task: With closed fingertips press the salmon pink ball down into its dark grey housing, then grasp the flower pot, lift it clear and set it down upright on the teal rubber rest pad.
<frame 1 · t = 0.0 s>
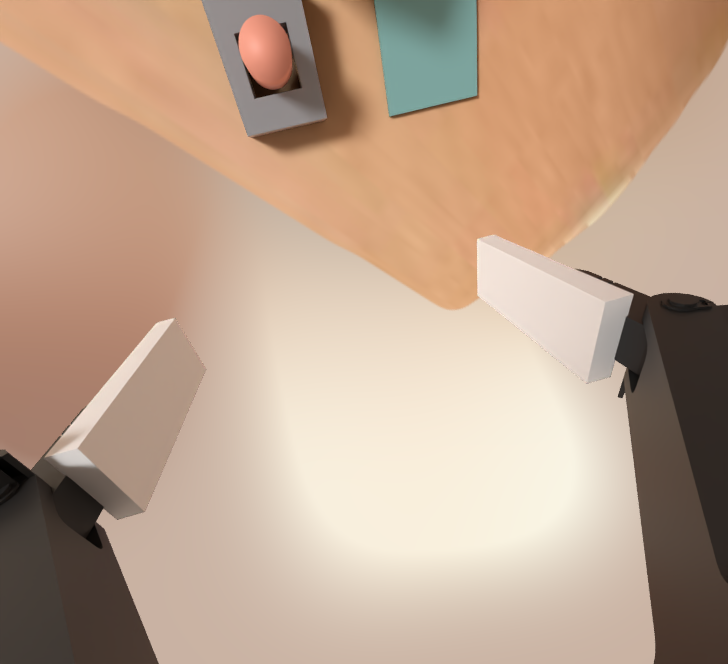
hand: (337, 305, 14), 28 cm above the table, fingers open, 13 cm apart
housing: (272, 69, 31), on the table
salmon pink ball: (267, 56, 26), point 5 cm above the table, slide at 0.0 cm
rest pad: (428, 47, 32), on the table
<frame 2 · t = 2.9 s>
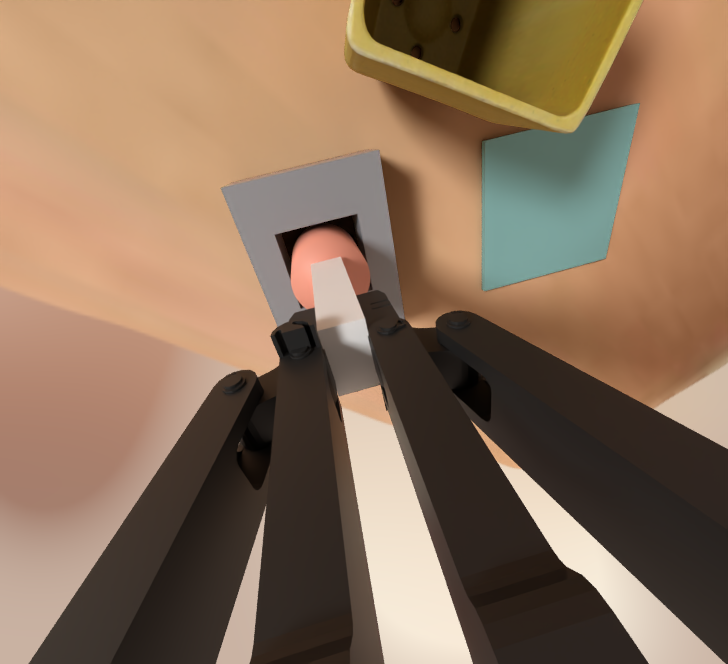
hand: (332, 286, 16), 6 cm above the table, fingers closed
flower pot: (423, 19, 16), on the table
housing: (323, 249, 21), on the table
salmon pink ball: (328, 267, 17), point 4 cm above the table, slide at 1.4 cm, touching gripper
rest pad: (549, 206, 22), on the table
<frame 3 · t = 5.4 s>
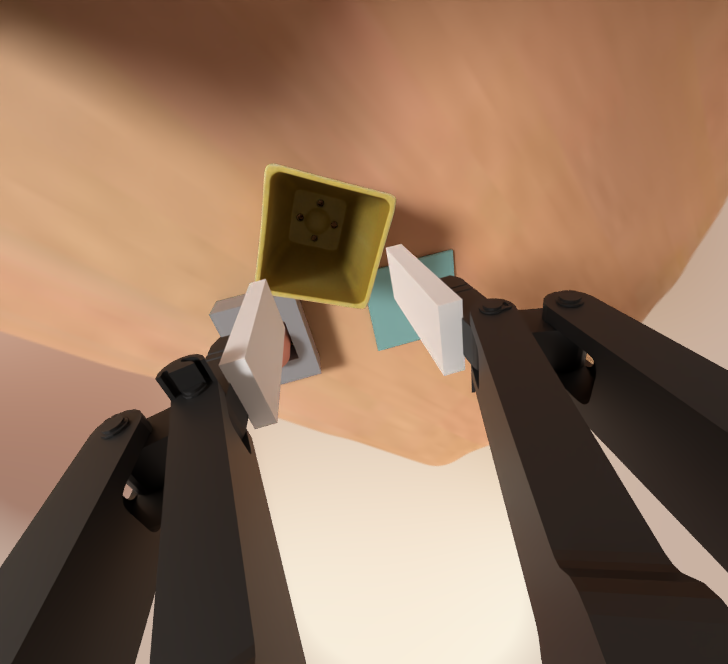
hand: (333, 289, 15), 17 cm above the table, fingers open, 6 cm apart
flower pot: (317, 221, 30), on the table
housing: (272, 332, 34), on the table
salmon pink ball: (270, 343, 32), point 2 cm above the table, slide at 2.5 cm
rest pad: (412, 302, 36), on the table
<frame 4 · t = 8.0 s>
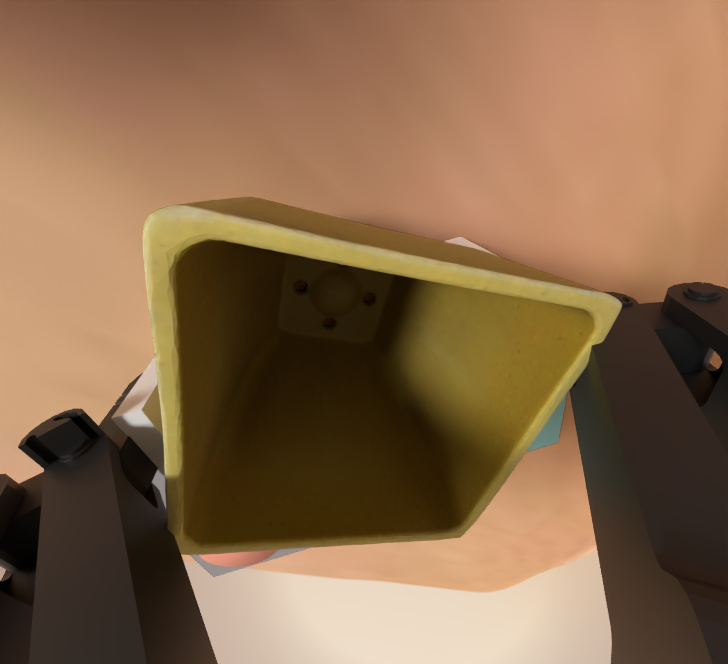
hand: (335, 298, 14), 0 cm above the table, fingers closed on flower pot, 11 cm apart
flower pot: (335, 291, 15), on the table, touching gripper
housing: (251, 468, 20), on the table
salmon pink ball: (245, 507, 17), point 2 cm above the table, slide at 2.5 cm
rest pad: (492, 410, 21), on the table
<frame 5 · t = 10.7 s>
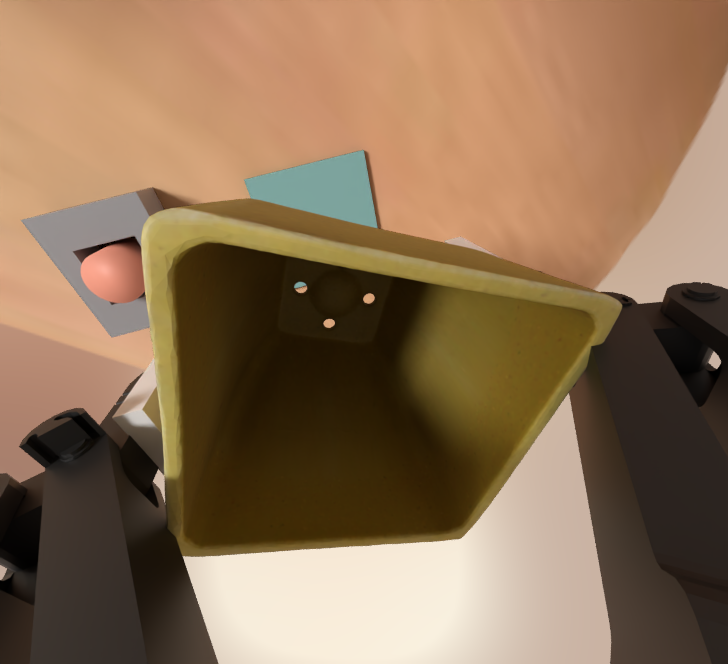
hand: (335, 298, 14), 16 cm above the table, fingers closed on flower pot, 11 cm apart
flower pot: (335, 292, 15), point 16 cm above the table, touching gripper
housing: (138, 260, 27), on the table
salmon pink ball: (125, 269, 25), point 2 cm above the table, slide at 2.5 cm
rest pad: (321, 225, 28), on the table
when the fingers open (3 cm above the table, at t = 13.9 s): flower pot drops 1 cm, resting on rest pad.
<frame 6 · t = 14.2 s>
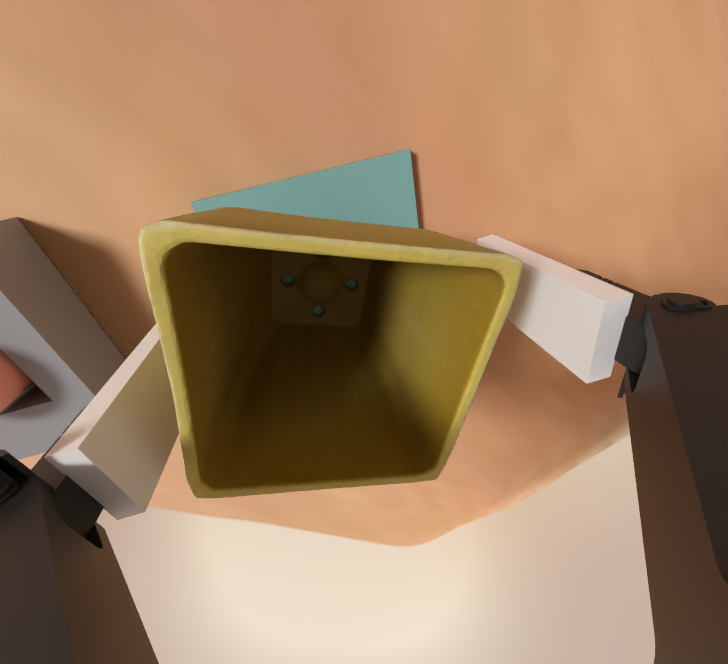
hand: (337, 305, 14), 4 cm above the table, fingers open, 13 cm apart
flower pot: (320, 281, 17), resting on rest pad
housing: (13, 339, 16), on the table
rest pad: (330, 276, 17), on the table
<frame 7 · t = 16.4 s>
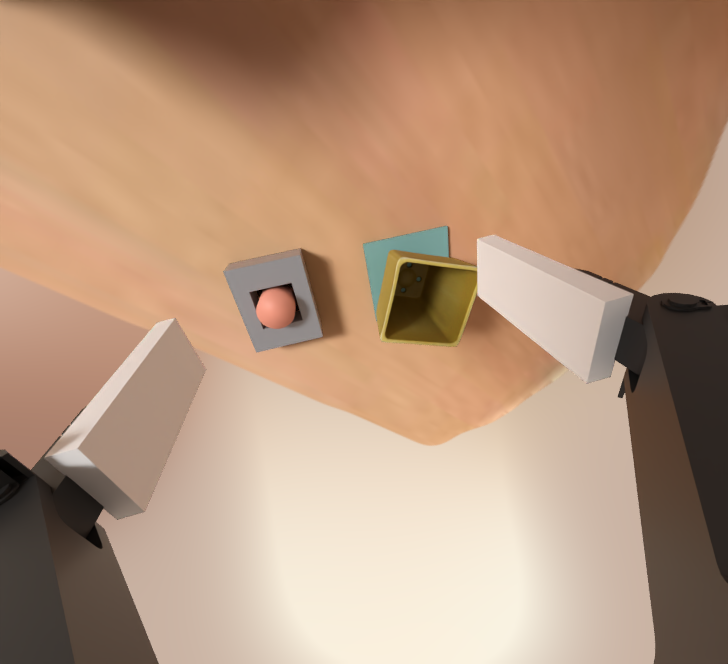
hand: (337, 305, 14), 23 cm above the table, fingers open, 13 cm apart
flower pot: (405, 277, 38), resting on rest pad
housing: (279, 296, 37), on the table
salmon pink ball: (277, 304, 35), point 2 cm above the table, slide at 2.5 cm
rest pad: (409, 275, 39), on the table
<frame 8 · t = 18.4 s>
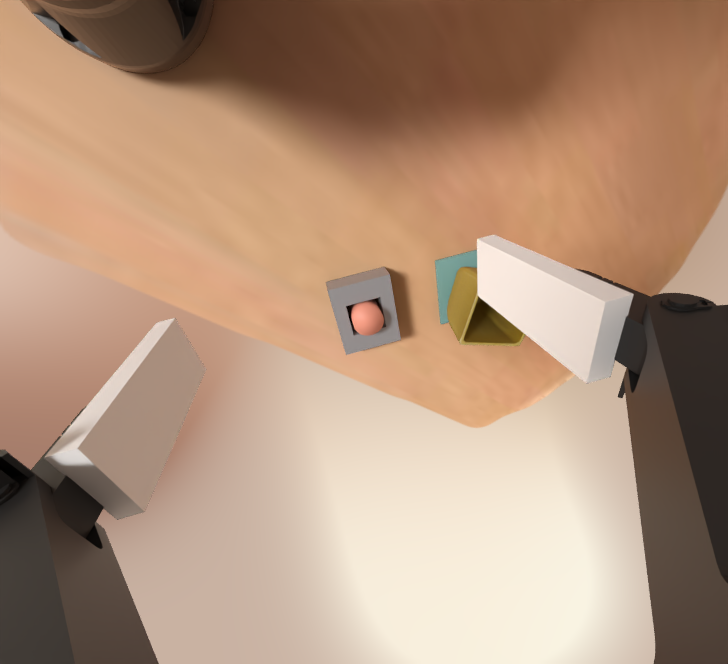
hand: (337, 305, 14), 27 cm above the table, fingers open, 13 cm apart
flower pot: (467, 286, 45), resting on rest pad
housing: (362, 307, 44), on the table
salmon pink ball: (366, 315, 42), point 2 cm above the table, slide at 2.5 cm
rest pad: (470, 284, 45), on the table
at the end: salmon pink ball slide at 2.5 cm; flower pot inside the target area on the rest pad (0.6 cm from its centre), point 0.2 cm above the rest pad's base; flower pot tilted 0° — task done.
